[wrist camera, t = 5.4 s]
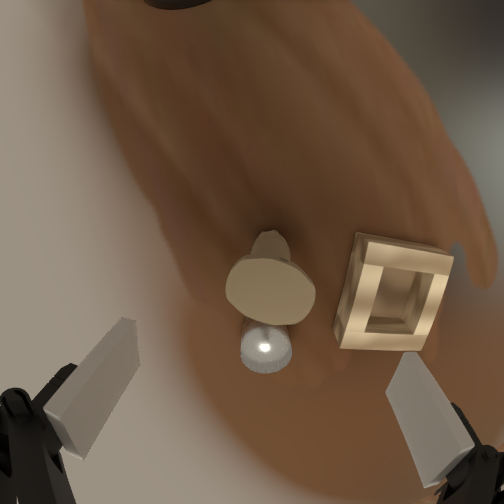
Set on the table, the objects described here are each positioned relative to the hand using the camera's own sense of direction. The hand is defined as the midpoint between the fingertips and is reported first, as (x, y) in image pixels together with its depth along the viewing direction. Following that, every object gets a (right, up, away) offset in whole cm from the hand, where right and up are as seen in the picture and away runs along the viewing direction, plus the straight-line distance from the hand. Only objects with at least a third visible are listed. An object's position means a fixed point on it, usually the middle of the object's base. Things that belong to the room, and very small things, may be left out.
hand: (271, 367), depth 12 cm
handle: (+1, +7, +22) cm, 23 cm away
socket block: (+17, +1, +23) cm, 29 cm away
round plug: (+1, -5, +25) cm, 26 cm away
